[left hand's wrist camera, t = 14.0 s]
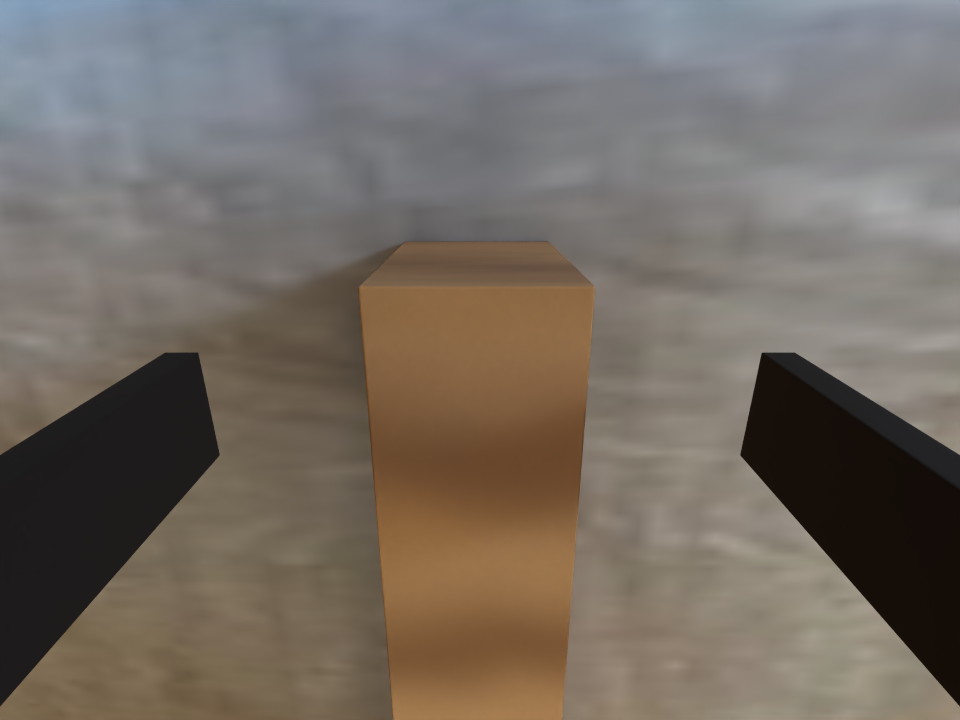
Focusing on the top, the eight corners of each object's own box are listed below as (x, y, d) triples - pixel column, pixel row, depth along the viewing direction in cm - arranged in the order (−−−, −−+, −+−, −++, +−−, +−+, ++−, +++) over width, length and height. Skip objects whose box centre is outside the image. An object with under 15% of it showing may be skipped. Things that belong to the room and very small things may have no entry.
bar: (403, 241, 20) (357, 286, 12) (549, 241, 20) (595, 286, 12) (431, 813, 31) (417, 1021, 24) (523, 812, 31) (538, 1020, 24)
